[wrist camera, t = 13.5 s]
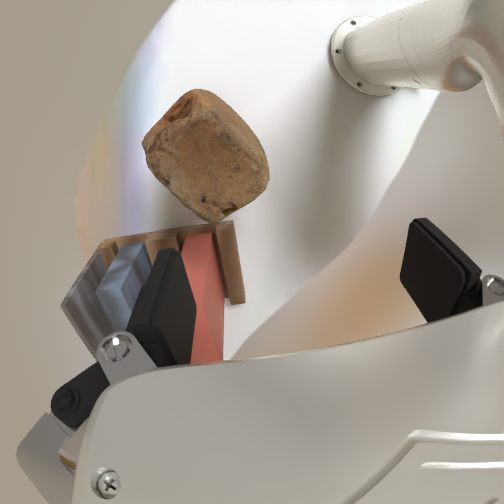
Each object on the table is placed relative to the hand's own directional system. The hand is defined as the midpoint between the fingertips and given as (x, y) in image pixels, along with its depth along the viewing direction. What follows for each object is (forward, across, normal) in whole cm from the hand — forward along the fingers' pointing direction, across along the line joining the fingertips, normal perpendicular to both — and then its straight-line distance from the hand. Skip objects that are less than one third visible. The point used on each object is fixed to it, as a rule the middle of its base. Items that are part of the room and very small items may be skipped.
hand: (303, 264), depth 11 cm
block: (+31, +5, -2) cm, 31 cm away
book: (+29, +10, +19) cm, 36 cm away
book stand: (+30, +16, +19) cm, 39 cm away
